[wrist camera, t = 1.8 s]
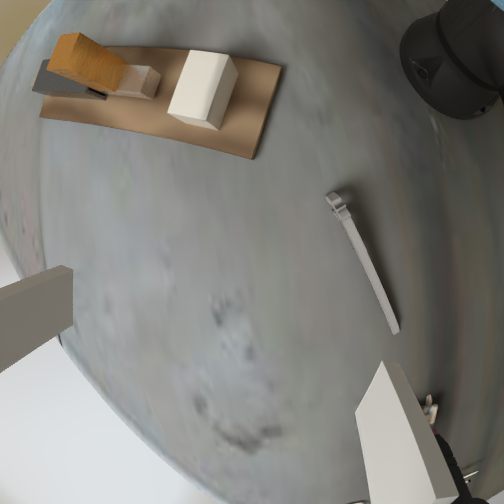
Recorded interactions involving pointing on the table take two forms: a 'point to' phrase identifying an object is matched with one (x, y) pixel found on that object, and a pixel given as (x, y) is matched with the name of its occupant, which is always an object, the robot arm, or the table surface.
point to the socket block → (204, 89)
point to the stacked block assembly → (100, 68)
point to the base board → (155, 111)
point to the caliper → (362, 256)
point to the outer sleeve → (62, 86)
